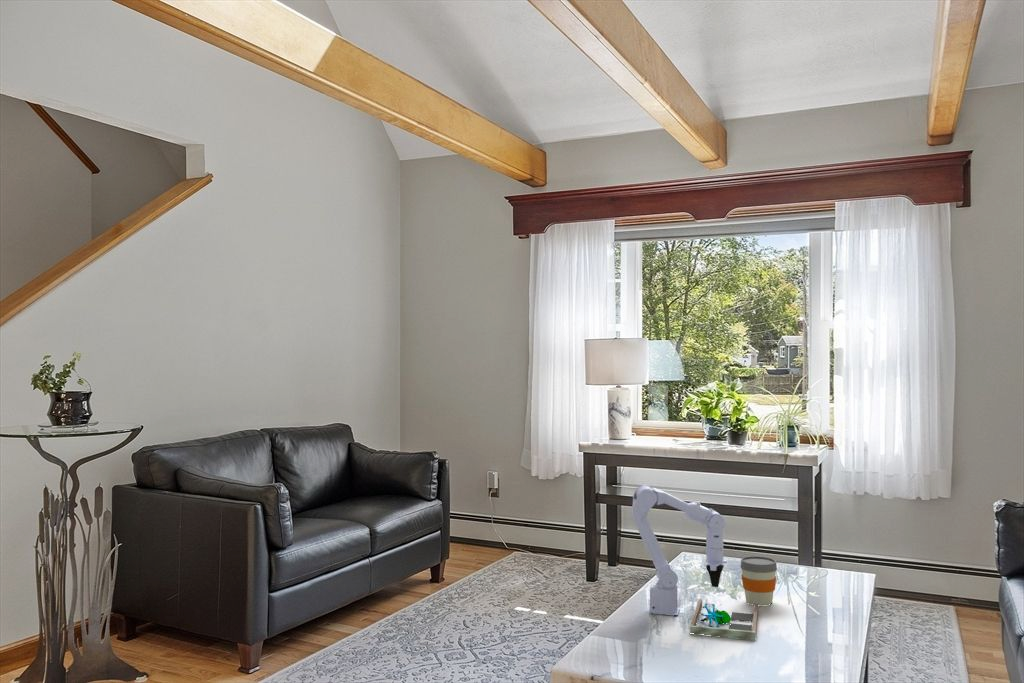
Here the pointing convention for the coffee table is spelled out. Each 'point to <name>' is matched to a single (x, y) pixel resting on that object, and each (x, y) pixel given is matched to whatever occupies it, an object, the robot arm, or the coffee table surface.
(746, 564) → the reusable coffee cup
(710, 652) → the coffee table surface
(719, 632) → the channel box
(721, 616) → the stick construction toy
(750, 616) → the mats
